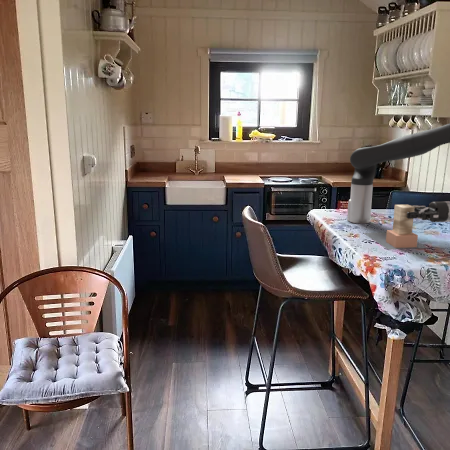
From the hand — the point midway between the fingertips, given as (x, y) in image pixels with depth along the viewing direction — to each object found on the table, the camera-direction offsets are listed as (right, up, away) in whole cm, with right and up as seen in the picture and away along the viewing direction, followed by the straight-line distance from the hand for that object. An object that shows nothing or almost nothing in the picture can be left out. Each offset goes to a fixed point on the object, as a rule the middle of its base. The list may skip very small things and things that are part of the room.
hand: (401, 212), depth 167 cm
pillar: (+1, -7, +2) cm, 8 cm away
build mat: (0, -11, +9) cm, 14 cm away
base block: (+1, -12, +3) cm, 12 cm away
